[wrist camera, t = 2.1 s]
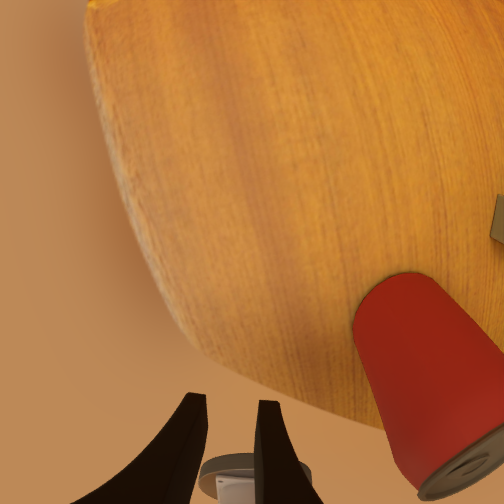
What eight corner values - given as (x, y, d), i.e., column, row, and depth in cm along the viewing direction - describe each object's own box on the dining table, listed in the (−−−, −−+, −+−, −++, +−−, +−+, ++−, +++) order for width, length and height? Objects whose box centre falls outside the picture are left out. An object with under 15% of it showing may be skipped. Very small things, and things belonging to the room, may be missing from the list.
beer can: (370, 259, 16) (484, 425, 5) (452, 276, 16) (566, 395, 5) (336, 350, 18) (375, 518, 7) (415, 356, 18) (479, 487, 7)
